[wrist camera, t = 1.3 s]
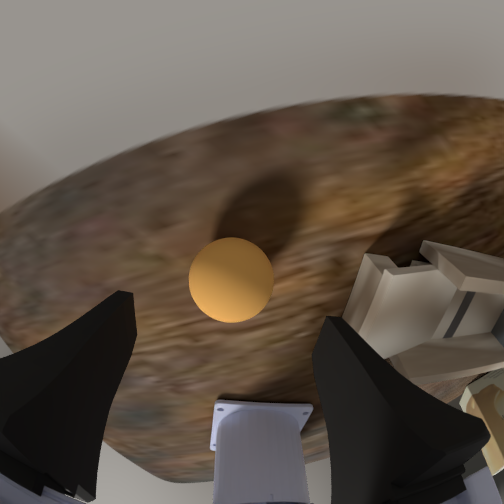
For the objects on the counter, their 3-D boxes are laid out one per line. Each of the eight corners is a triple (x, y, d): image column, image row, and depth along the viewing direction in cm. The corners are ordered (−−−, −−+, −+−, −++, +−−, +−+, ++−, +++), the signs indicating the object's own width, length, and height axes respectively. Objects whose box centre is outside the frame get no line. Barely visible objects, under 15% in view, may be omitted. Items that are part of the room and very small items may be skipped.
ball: (263, 296, 16) (268, 344, 13) (193, 287, 16) (181, 333, 12) (276, 230, 15) (287, 268, 11) (198, 220, 14) (183, 255, 11)
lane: (488, 335, 20) (511, 365, 16) (327, 339, 18) (344, 391, 14) (524, 263, 16) (555, 289, 12) (365, 228, 15) (403, 267, 11)
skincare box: (502, 362, 22) (546, 431, 11) (493, 382, 24) (531, 447, 13) (464, 386, 23) (506, 465, 12) (456, 404, 25) (491, 477, 14)
